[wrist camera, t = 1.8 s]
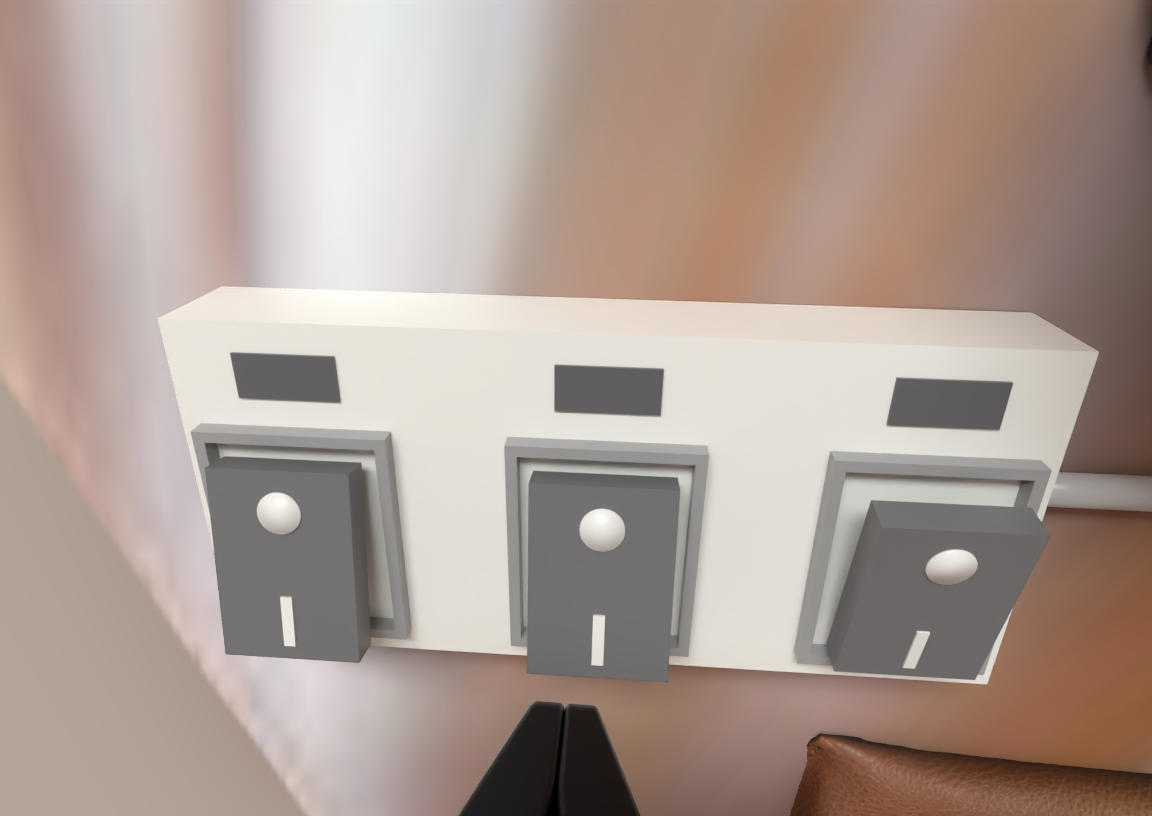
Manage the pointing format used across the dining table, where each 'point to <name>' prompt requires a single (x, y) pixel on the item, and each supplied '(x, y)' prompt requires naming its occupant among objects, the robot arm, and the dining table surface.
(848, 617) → the rocker
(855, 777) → the sunglasses case
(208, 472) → the rocker
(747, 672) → the dining table surface
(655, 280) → the dining table surface
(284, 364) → the power strip
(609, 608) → the rocker middle
